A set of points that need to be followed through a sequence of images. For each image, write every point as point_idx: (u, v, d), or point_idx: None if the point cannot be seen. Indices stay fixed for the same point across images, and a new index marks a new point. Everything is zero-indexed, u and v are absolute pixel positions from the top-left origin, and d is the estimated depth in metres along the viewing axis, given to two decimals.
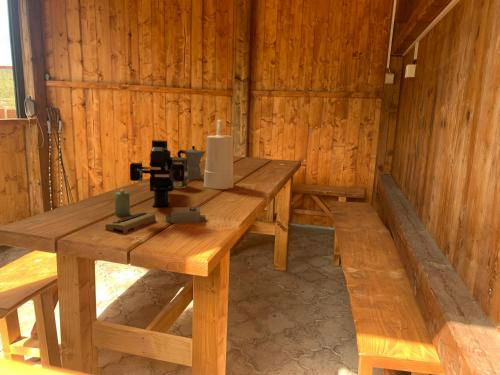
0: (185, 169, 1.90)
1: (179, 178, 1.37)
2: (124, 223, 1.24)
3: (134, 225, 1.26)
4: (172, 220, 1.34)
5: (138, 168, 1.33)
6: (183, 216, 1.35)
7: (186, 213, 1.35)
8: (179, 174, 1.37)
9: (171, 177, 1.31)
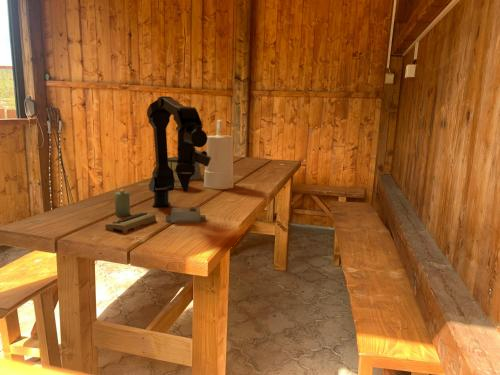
0: None
1: None
2: (124, 223, 1.24)
3: (134, 225, 1.26)
4: (172, 220, 1.34)
5: (190, 176, 1.29)
6: (183, 216, 1.35)
7: (186, 213, 1.35)
8: None
9: None
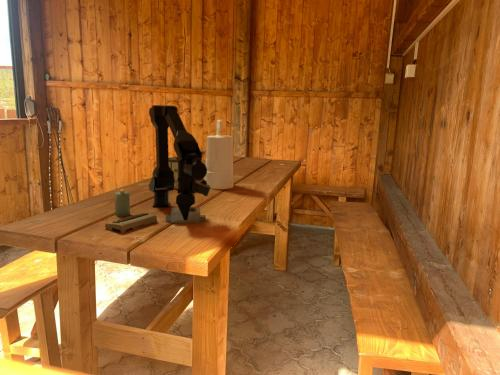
0: None
1: None
2: (123, 223, 1.24)
3: (133, 225, 1.26)
4: (172, 220, 1.34)
5: (190, 206, 1.32)
6: None
7: None
8: None
9: None
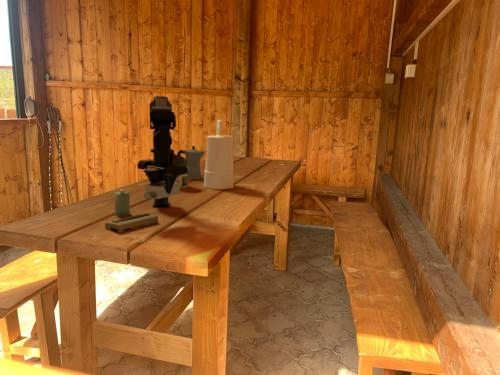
0: None
1: None
2: (121, 223, 1.24)
3: (131, 225, 1.26)
4: (158, 196, 1.27)
5: None
6: None
7: None
8: None
9: None
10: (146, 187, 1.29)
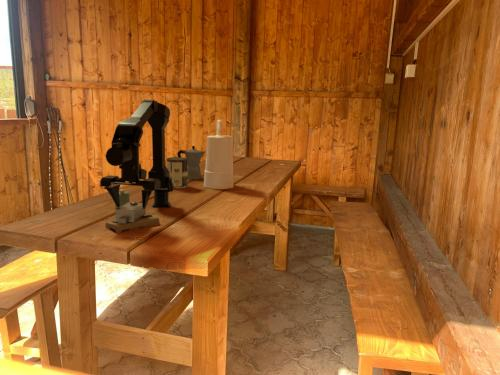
0: (185, 169, 1.90)
1: None
2: (120, 223, 1.24)
3: (130, 226, 1.25)
4: (134, 219, 1.25)
5: None
6: (138, 211, 1.28)
7: (139, 208, 1.29)
8: None
9: None
10: (117, 212, 1.25)
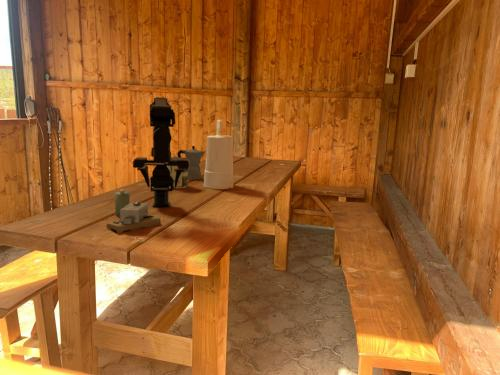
0: (185, 169, 1.90)
1: (138, 169, 1.32)
2: (121, 224, 1.24)
3: (131, 227, 1.25)
4: (139, 219, 1.25)
5: None
6: (142, 212, 1.28)
7: (143, 208, 1.29)
8: None
9: None
10: (122, 212, 1.24)
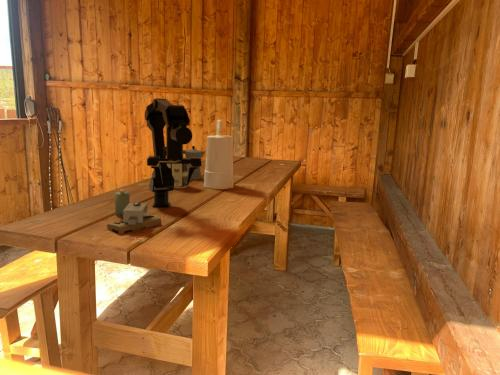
0: (185, 169, 1.90)
1: (152, 167, 1.35)
2: (122, 224, 1.23)
3: (133, 227, 1.24)
4: (142, 219, 1.25)
5: None
6: (144, 212, 1.28)
7: (145, 208, 1.29)
8: None
9: (160, 181, 1.37)
10: (125, 213, 1.23)
